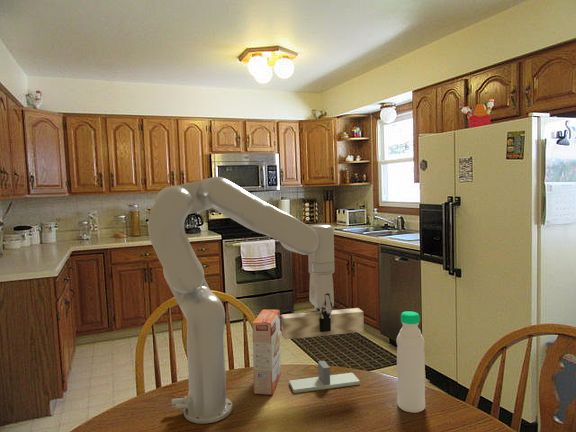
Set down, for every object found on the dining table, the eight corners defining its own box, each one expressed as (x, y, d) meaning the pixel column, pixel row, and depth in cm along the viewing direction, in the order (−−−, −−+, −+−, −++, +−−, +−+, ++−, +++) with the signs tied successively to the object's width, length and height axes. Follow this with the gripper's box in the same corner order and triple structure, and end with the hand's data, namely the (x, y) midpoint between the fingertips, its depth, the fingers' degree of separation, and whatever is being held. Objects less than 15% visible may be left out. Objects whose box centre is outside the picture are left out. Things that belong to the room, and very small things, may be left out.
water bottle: (429, 413, 105) (428, 316, 104) (401, 414, 105) (399, 317, 104) (420, 399, 112) (419, 308, 111) (394, 400, 112) (393, 309, 111)
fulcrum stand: (293, 393, 118) (293, 372, 118) (289, 383, 124) (288, 364, 123) (359, 384, 122) (359, 364, 122) (352, 375, 128) (352, 356, 128)
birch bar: (284, 339, 118) (283, 318, 117) (281, 334, 121) (281, 314, 121) (363, 331, 123) (363, 311, 122) (358, 327, 127) (358, 307, 126)
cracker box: (274, 396, 117) (271, 323, 115) (253, 395, 118) (250, 322, 116) (282, 374, 130) (280, 308, 129) (263, 373, 131) (261, 308, 130)
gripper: (301, 263, 128) (303, 321, 129) (317, 273, 112) (318, 339, 113) (325, 261, 130) (326, 319, 131) (343, 271, 114) (344, 337, 115)
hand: (322, 328), depth 122 cm, fingers closed on birch bar, 4 cm apart
